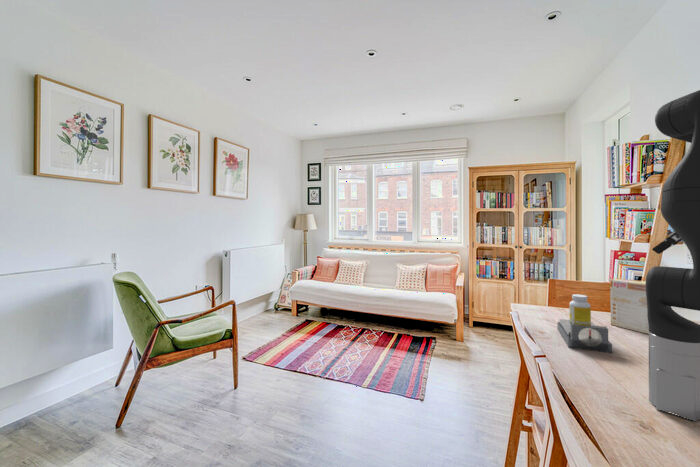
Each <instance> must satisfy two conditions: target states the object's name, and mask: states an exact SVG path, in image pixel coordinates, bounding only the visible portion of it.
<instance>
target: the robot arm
mask: <svg viewBox="0 0 700 467" xmlns="http://www.w3.org/2000/svg"><path fill="white" fill-rule="evenodd" d="M654 123H655V126H656V129H657V130H658V131H659V132H660V133H661V134H663V135H664V136H667V137H669V138H672V139H676V140H679V141H683V142H687V143H690V145H689V148H688V150H687V151H686V153H685V155H683V157H682V158H681V160H680V161H679V162H678V164H677V165H676V166H675V167H674V169H672V171H671V172H670V174H669V175H668V176H667V178H666V180H665V181H664V183H663V186H662V189H661V191H662V192H661V198H660V199H661V201H660V203H661V204H660V212H661V215H662V218H663V219H664V221H665V222H666V223H667V224H668V225H669V227H670V228H671V229H672V230H673V231H672V232H671V233H669V234H668V236H667V237H665V238H664V240H663V241H661V242H660V243H659V244H656V245H655V246H654V247H652V249H651V250H652V251H654V252H655V253H656V254H657V255H660V254H662V253H663V252H665V251H666V250H668V249H669V248H671V247H673V246H675V245H678V243H684V244H685V246H686V247H687V249H688V251H689V253H690V256H691V259H692V264H693V265H692V268H687V267H675V266H674V267H673V266H672V267H671V266H660V265H659V266H652V267H651V268H649V270H648V272H647V274H646V277H645V282H646V298H647V317H648V324H649V334H648V401H649V403H652V404H651V405H653V406H654V407H655V406H656V407H655V409H656V410H657V409H659V410H658V411H660V410H662V411H661V412H663V411H666V412H671V413H674V414H677V415H679V416H682V417H685V418H687V419H686V420H688V419H690V420H689V421H691V420H693V422H695V421H700V324H699V323H697V322H695V321H692V320H690V319H688V318H686V317H684V316H682V315H680V313H677V312H676V311H675V310H674V309H673V308H679V309H684V310H685V309H686V310H690V311H691V310H692V311H699V312H700V89H698V90H696V91H693V92H691V93H689V94H686V95H683V96H681V97H678V98H676V99H674V100H673V99H672V100H670V101H669V102H667V103H665V104H663V105H662V106H660V107H659V108H658V109H657V111H656V113H655V116H654ZM672 307H673V308H672ZM666 412H665V413H666ZM679 416H678V417H679ZM682 417H681V418H682ZM685 418H684V419H685Z"/></svg>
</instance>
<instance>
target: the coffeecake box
mask: <svg viewBox="0 0 700 467" xmlns="http://www.w3.org/2000/svg"><path fill="white" fill-rule="evenodd" d="M609 282H610V284H609V285H610V286H609V287H610V288H609V289H610V292H609V293H610V325H611V326H615V327H620V328H623V329H627V330H631V331H636V332H639V333H643V334H647V335H649V324H648V317H647V298H646V280H645V281H643V280H635V279H629V278H627V279H626V278H621V277H620V278H611V279H610V281H609Z"/></svg>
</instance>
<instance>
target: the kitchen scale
mask: <svg viewBox="0 0 700 467" xmlns="http://www.w3.org/2000/svg"><path fill="white" fill-rule="evenodd" d="M556 330H557V331H558V332H559V334H560V337H562V339H563V341H564V342H565V344H566V346H567V347H568V348H570V349H577V350H586V351H593V352H601V353H608V354H609V353H611V354H613V344H612V343H611V341H610V340H609V329H608V327H607V326H601V325H600V326H599V325H595V326H592V325H582V324H571V323H570V336H568V334H567V333H566V331H565V330H564V328H563V327H562V325H561V324H560V322H559V321H557V328H556Z"/></svg>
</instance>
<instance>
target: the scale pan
mask: <svg viewBox="0 0 700 467" xmlns="http://www.w3.org/2000/svg"><path fill="white" fill-rule="evenodd" d="M558 322H560V324H561V325H562V327H563V328H564V330H565V331H566V333H567V334H568V336H570V319H562V318H559V319H558ZM591 325H592V326H596V324H594V323H593V321H591Z"/></svg>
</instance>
